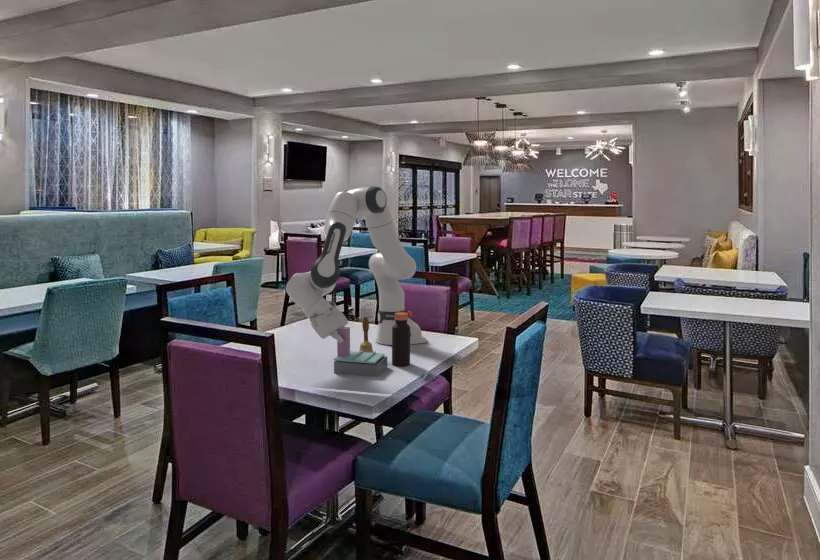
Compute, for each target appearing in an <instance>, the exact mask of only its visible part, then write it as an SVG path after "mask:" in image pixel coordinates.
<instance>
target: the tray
mask: <svg viewBox="0 0 820 560" xmlns="http://www.w3.org/2000/svg"><path fill="white" fill-rule="evenodd" d="M387 368H388V356H385V355H384V356H383V357H382V358H381V359H380V360H379V361H378V363H377V364H364V363H351V362H346V361H334V360H333V374H340V375H341V374H342V375H352V376H353V375H354V376H365V377H375V378H376V377H377V378H378V377H379V376H380V375H381V374H382V373H383V372H385V370H386V369H387Z"/></svg>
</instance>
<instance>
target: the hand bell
mask: <svg viewBox="0 0 820 560" xmlns="http://www.w3.org/2000/svg"><path fill="white" fill-rule="evenodd" d="M361 324H362V331H363V341H362V342H360V344H359V345H360V346H359V350H358V352H360V351H361V350H362V351H363V352H368V353H373V352H374V350H373V344H372V342H370V341H369V330H370V322H369V319H368V317H367V316H364V317H363V320H362V323H361Z"/></svg>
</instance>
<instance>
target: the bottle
mask: <svg viewBox="0 0 820 560" xmlns="http://www.w3.org/2000/svg"><path fill="white" fill-rule="evenodd" d="M408 318H409V317H408V313H404V312H398V313H395V321H396V323H395V324H394V325H393V326H392V345H391V366H393V367H398V368H399V367H400V368H404V367H409V366H410V365H411V345H410V326H409V325H408V324H407V321H408Z"/></svg>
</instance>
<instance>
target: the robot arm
mask: <svg viewBox="0 0 820 560" xmlns="http://www.w3.org/2000/svg"><path fill="white" fill-rule="evenodd" d="M387 202H388V199H387V195H386V192H385V191H384V190H383V188H381V187H379V186H373V185H371V186H363V187H357V188H352V189H346V190H344V191H339V192H337V193H336V194H335V196H334V197H333V199H332V201H331V203H330V206H329V208H328V210H327V213H326V215H325V216H326V217H325V221H324V226H323V227H324V229H323V231H324V234H325V236H326V237H325V241H324V244H323V248H322V250H321V254H320V256H319V257H318V258H317V259H316V260H315V262H313V264H312V266H311V269H310V271H307V272H296V273H294V274H293V275H292V276H291V277H290V278H289V279H288V281H287V282H286V284H285V291H286V292H285V293H286V294H287V295H288V296H289V298H290V299H291V300H292V301H293V303H294V304H295V305H296V306H297V307H298V308H299V307H300V308H301V310H302V312H303V314H304V315H305V316H306V317H307V318H308V320H309V321H310V325H311V327H312V329H313V330H314V331H315V332H316V334H317V335H318V336H319V337H320V338H321V339H323V340H324V339H326V338H328V337H329V336H331V337H332V338H333V339H334V340H336V341H337V340H338V342H339V343H342V342H343V341H344V340H345V339H344V338H343V337H342V336H340V335H339V334H338V333H337V329H338V328H340V327H347V325H348V324H349V321H348V319H347V317H346V315H345V314H344V313H343V311H341V309H339V308H338V307H337V304H336V303H335V302H334V301H330V300H327V299H325V297H324V296H326V295H328V294H330V293H332V292H333V290H334V288H336V284H337V282H338V280H339V278H340V274H341V273H340V272H341V271H340V265H339V259H340V254H341V252H342V251H341V250H342V247H343V244H344V242H345V241H346V240H348V239H349V238H350V236H351V233H352V232H353V229H354V226H355V223H356V219H357V217H362V216H364V219H365V223H366V226H367V230H368V233H369V237H370V240H371V244H372V246H373V247H375V248H376V249H377V250H378V252H376V253H373V254H372V255H371V256H370V257H369V260H368V268H369V271H370V272H372V275H373V276H374V278H375V279H374V280H375V282H376V285H377V290H378V306H379V307H378V311H377V322H378V326H377V333H376V337H375V340H374V341H375V342H376V343H377V344H381V345H387V346H392V326H393V325H394V324H395V323H396V321H395V313H398V312H404V313H408V321H407V324H408V325H409V326H410V346H411V345H417V344H424V343H425V344H426V343H427V341H428V340H427V338H426V336H424V335H422V330H421V327H420V326H419V324H417V323H416V322H414V321H413V320H412V319H411V318H409V317H411V316H412V315H413V312H412V311H410V310H407V309H406V308H405V299H406V298H405V291H404V289H403V288H402V287H401V285H400V283H399V280H400V281H401V280H409V279H411V278H412V277H413V276H415V274H416V272H417V263H416V261H415V259H414V258H413V257H412V256H410V254H409V253H408V252H407V250H406V249H405V247H404V246H403V244H402V242H401V241H400V238H399V237H398V234H397V231H396V227H395V223H394V219H393V217H392V213H391V211H390V209H389V207H388V204H387Z"/></svg>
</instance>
